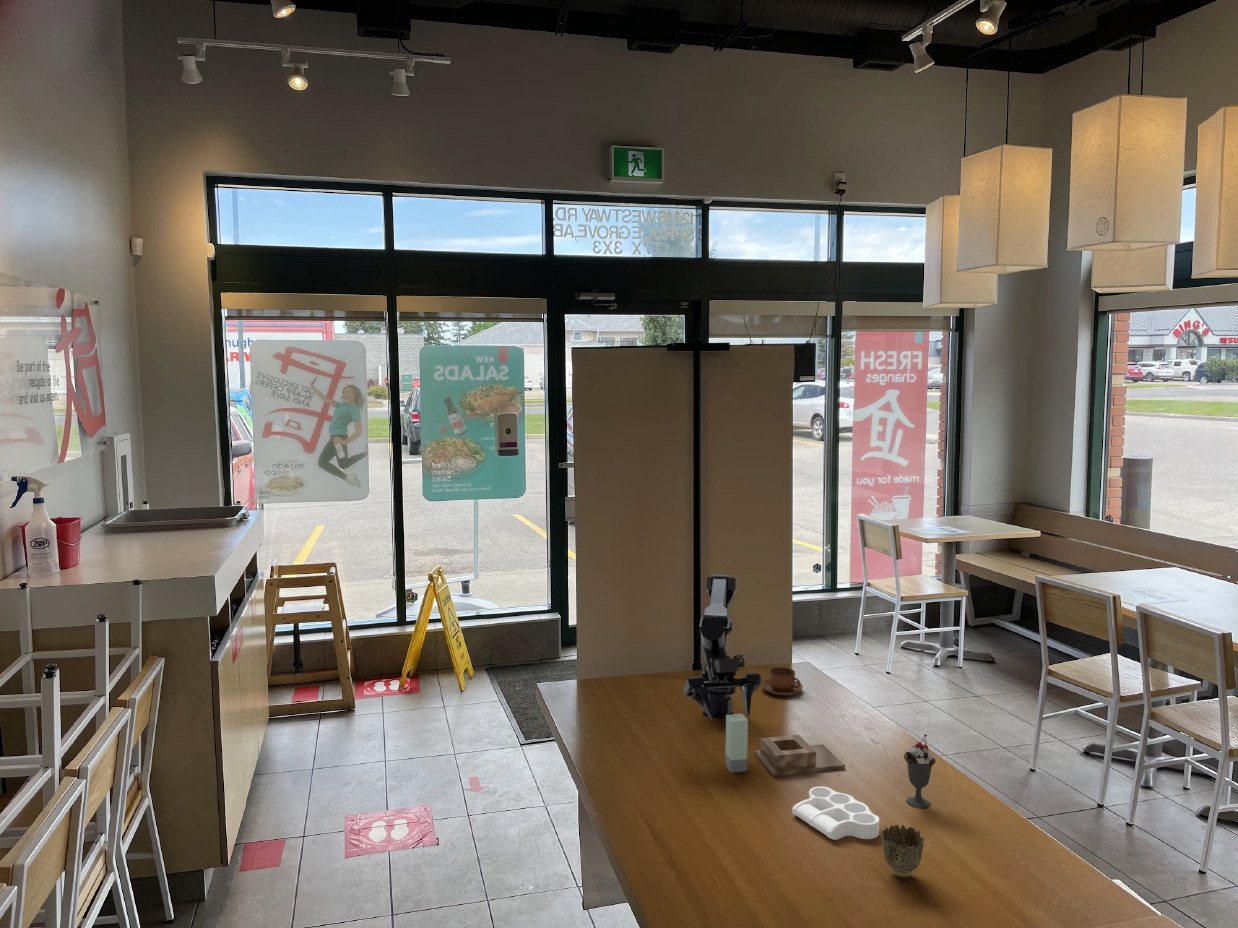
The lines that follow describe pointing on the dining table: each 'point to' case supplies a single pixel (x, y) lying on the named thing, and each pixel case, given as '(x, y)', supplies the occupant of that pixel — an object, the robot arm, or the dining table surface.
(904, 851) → the cup
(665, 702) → the dining table surface
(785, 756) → the wooden socket base
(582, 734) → the dining table surface
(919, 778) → the sundae
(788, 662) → the dining table surface
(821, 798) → the white brass knuckles
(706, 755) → the dining table surface
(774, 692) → the cup and saucer
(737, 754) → the sage green square pillar
